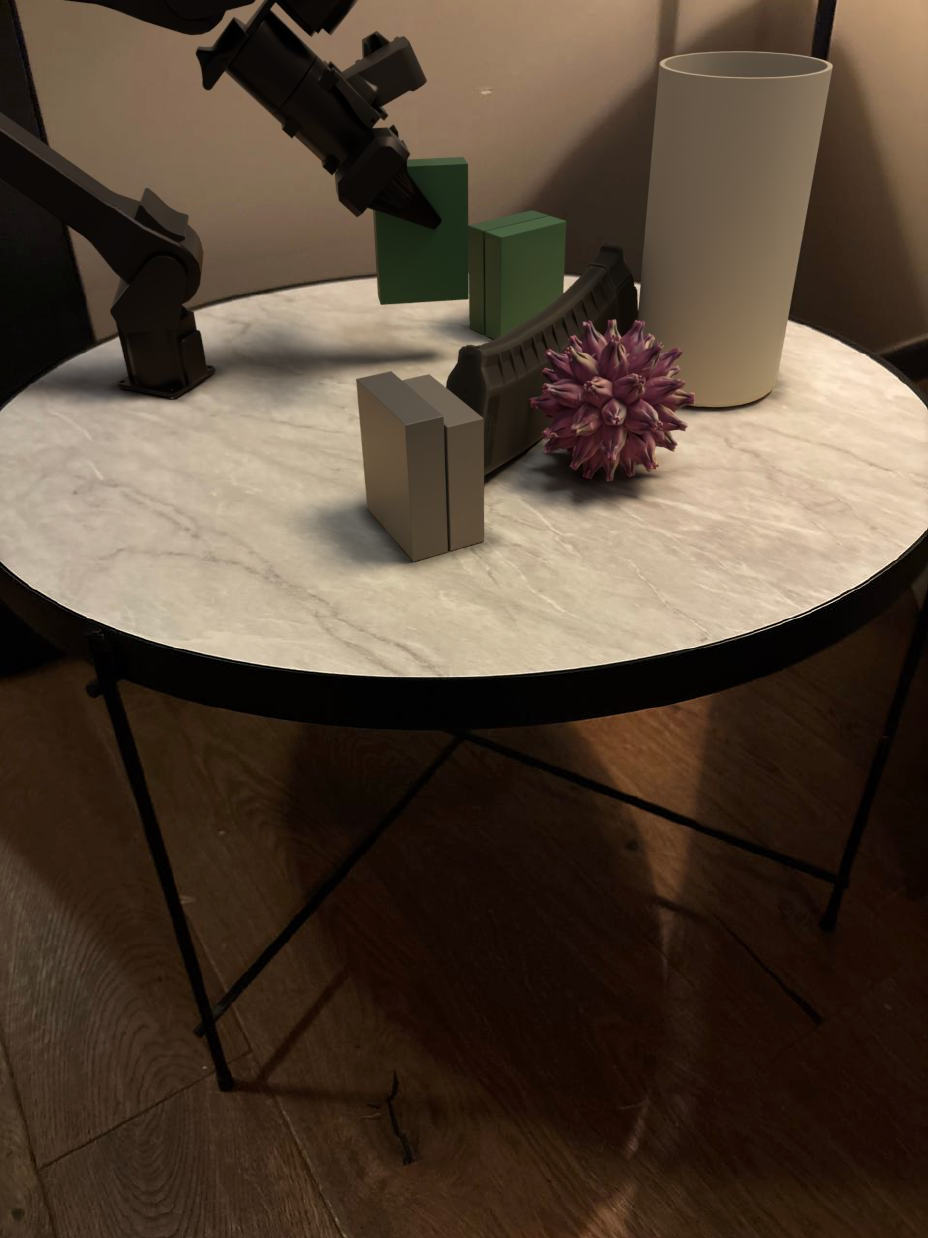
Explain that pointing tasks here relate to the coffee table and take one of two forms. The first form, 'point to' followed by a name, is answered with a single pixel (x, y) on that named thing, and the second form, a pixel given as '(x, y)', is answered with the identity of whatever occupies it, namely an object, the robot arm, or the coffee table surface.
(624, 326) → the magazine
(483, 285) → the green books
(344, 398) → the coffee table surface
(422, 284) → the green book
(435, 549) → the grey books
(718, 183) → the cylinder vase
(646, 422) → the flower
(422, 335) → the coffee table surface
